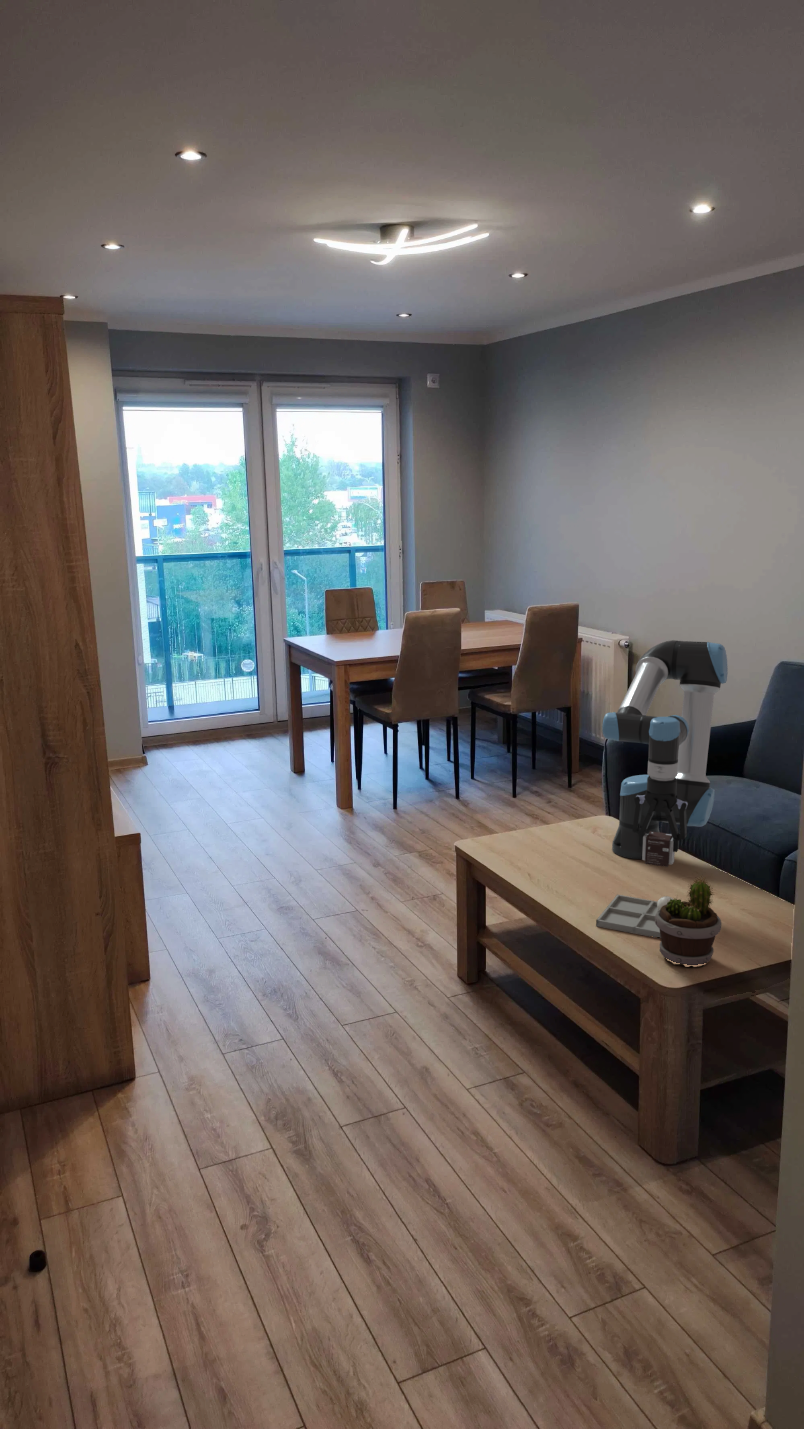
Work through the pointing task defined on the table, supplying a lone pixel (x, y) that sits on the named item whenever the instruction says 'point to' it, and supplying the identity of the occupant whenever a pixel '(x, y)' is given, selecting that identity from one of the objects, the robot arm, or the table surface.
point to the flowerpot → (689, 926)
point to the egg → (663, 901)
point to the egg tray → (630, 916)
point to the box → (658, 849)
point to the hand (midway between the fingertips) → (658, 860)
